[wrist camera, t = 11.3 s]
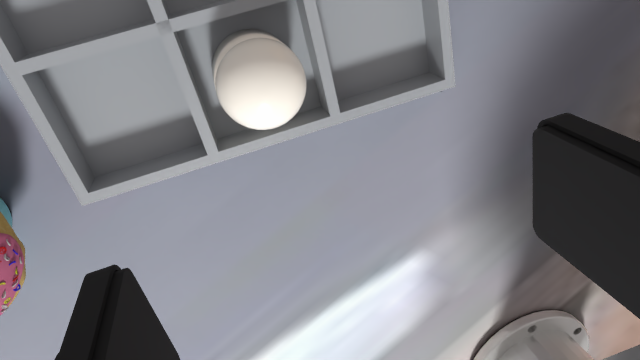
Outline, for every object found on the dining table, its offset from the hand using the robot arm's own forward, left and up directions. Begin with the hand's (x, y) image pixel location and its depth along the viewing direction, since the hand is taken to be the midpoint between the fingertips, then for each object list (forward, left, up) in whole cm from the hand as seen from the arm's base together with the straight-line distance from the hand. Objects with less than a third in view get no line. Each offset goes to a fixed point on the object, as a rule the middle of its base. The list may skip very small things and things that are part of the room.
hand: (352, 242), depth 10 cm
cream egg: (0, 0, -18) cm, 18 cm away
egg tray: (+4, 0, -18) cm, 18 cm away
